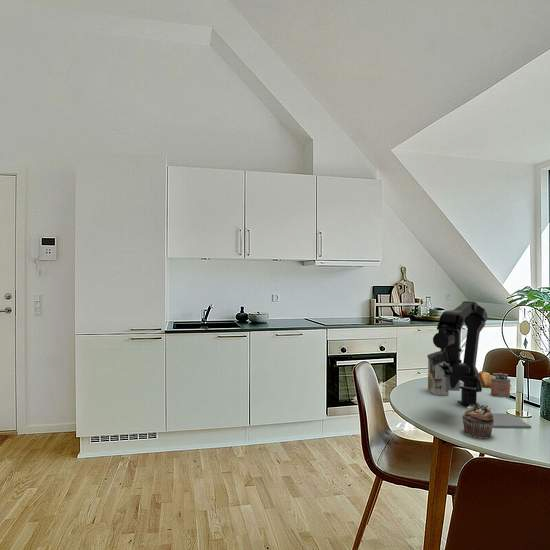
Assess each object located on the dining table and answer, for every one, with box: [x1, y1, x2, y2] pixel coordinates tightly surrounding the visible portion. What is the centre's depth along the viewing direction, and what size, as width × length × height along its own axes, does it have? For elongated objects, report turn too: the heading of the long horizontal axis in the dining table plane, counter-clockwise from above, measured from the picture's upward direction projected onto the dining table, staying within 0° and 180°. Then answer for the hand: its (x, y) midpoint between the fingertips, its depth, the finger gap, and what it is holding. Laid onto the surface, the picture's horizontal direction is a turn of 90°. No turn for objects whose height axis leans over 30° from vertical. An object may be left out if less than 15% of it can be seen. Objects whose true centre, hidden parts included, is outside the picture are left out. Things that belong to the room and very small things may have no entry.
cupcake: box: [461, 402, 494, 439], centre depth 143 cm, size 10×10×10 cm
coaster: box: [491, 412, 532, 429], centre depth 156 cm, size 13×13×1 cm
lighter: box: [490, 372, 511, 398], centre depth 189 cm, size 8×3×10 cm, turn 84°
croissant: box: [478, 370, 512, 389], centre depth 207 cm, size 21×10×8 cm, turn 56°
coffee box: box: [427, 359, 449, 396], centre depth 193 cm, size 9×6×16 cm
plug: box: [442, 375, 464, 392], centre depth 162 cm, size 4×7×5 cm, turn 90°
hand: (450, 386), depth 162 cm, fingers closed on plug, 4 cm apart
